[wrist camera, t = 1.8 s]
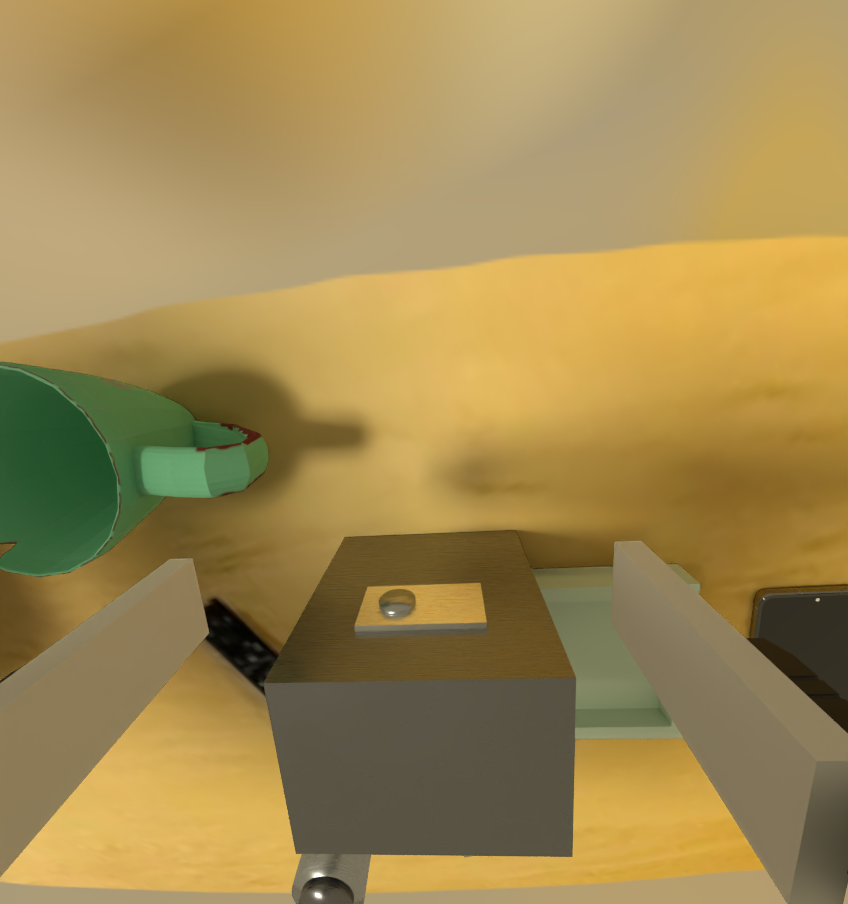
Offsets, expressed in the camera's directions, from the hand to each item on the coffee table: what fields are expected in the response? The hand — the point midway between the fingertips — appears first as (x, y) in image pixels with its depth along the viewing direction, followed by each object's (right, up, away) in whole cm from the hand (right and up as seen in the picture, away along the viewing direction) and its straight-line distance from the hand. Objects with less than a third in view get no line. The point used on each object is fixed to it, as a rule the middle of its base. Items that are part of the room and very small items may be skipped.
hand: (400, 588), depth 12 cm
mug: (-14, +6, +15) cm, 21 cm away
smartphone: (+28, -13, +17) cm, 35 cm away
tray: (+13, -10, +17) cm, 23 cm away
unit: (+1, -6, +16) cm, 18 cm away
